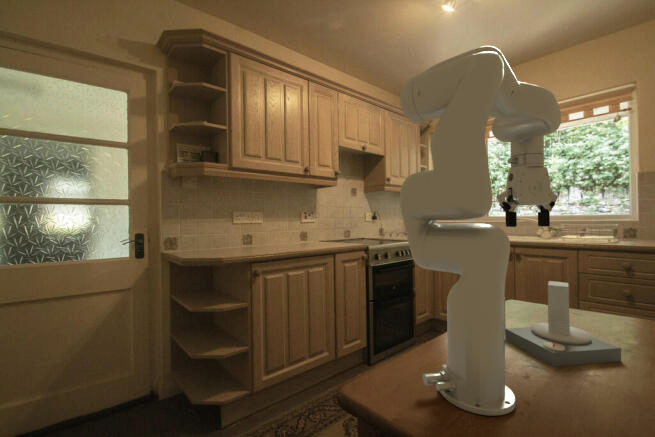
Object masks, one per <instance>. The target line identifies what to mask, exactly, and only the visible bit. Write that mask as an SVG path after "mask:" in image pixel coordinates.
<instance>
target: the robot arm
mask: <svg viewBox="0 0 655 437" xmlns="http://www.w3.org/2000/svg"><path fill="white" fill-rule="evenodd" d="M399 95H400V96H399V97H400V98H399V104H400V108H401V111H402V113H403V114H404V116H405V117H406V118H407V119H408V120H409V121H411V122H413V123H418V124H419V123H426V122H429V121H433V120H434V121H435V120H438V121H437V123H436V125H435V128H434V129H433V132H432V135H431V139H430V142H429V143H430V146H429V147H430V153H431V154H430V155H431V160H432V164H433V165H432V167H433V169H431V170H422V171H417V172H414V173H411V174H410V175H409V176H407V177H406V178H405V179H404V181H403V182H402V185H401V187H400V192H399V193H400V194H399V205H400V206H399V207H400V210H401V216H402V220H403V224H404V229H405V233H406V237H407V242H408V246H409V250H410V254H411V257H412V258H413V261H414V263H415V264H416V265H417V266H418V267H420V268H422V269H425V270H429V271H437V272H443V273H445V272H446V273H451V274H452V273H453V274H456V275H457V274H458V275H460V277H459V279H458V280H457V281H456V282H455V283H454V285H453V286H452V287H451V288H450V290H449V292H448V295H447V296H446V297H447V298H446V321H447V322H446V324H447V326H446V327H447V328H446V329H447V331H446V332H447V333H446V334H447V336H446V337H447V342H446V343H447V344H446V345H447V350H446V351H447V364H442V365H441V368H442V370H439V371H438V372H435V373H434V372H429V373H423V374H422V382H423V384H424V385H425V386H434V385H435V389H436V390H437V391H438V392H440V394H441V395H442V396H443V397H444V399H445V400H447V401H448V402H449V403H450V404H452V405H454V406H455V407H458V408H459V409H462V410H464V411H467V412H470V413H473V414H477V415H483V416H492V417H493V416H494V417H495V416H503V415H504V416H505V415H507V414H509V413H511V412H512V411H514V410H515V408H516V404H517V403H516V399H517V398H516V395H515V393H514V392H513V391H512V389H510V387H508V386H507V385H506V340H505V329H506V328H505V324H506V313H505V314H504V297H505V291H506V279H507V278H506V277H507V272H508V266H509V261H510V252H511V243H510V239H509V238H510V237H509V236H508V234H507V233H506V232H505V231H504V230H503V229H502V228H501V227H498V226H496V225H493V224H489V223H478V222H455V223H453V222H451V223H445V222H444V223H442V222H441V223H440V222H439V223H437V221H468V220H476V219H480V218H484V217H485V216H486V215H488V214H489V212H490V211H491V209H492V206H493V191H492V182H491V174H490V167H489V160H488V159H489V158H488V153H487V146H486V145H487V144H486V131H487V124H488V121H489V118H494V119H493V121H492V122H491V133H492V135H493V136H494V138H495V139H496V140H498V141H500V142H502V143H510V158H508V159H507V164H510V168H509V169H508V173H507V177H506V187H505V190H504V191H502V192H501V193H499V194H497V195H496V199H497V202H498V204H499V206H500V208H501V209H502V212H504V213H505V226H506V227H507V228H508V227H509V228H515V227H517V224H518V222H517V219H518V218H517V214H518V213H517V211H515V210H516V209H517V208H518V207H519V206H536V207H537V208H538V210H539V211H537V226H538V227H543V228H545V227H550V226H551V225H550V224H551V223H550V222H551V221H550V213H551V212H552V211H553V208H554V207H555V205H556V203H557V200H558V198H559V197H558V195H557V194H556V193H554V192H552V190H551V189H552V187H551V186H552V185H551V180H550V175H549V170H548V168H547V166H545V146H544V144H545V142H544V141H545V139H544V138H545V136H548V135H551V134H554V133H555V132H556V131H557V130H559V128H560V126H561V123H562V112H561V108H560V105H559V103H558V101H557V97H556V96H555V93H553V92H552V91H551V90H550V89H548V88H546V87H544V86H540V85H537V84H532V83H529V82H524V81H523V82H522V81H519V80H518V79H517V77H516V75H515V73H514V72H513V69H512V68H511V66H510V65H509V62H508V61H507V59H506V58H505V56H504V54H503V52H502V51H501V50H500V49H499V48H497V47H496V46H492V45H484V46H479V47H476V48H472V49H469V50H467V51H465V52H463V53H459V54H457V55H454V56H452V57H450V58H447V59H445V60H442V61H439V62H438V63H435V64H434V65H432V66H431V67H429V68H427V69H425V70H424V71H421V72H420V73H418V74H416V75H414V76H412V77H410V78H409V79H407V81H406V82H404V84H403V85H402V88H401V91H400V94H399Z"/></svg>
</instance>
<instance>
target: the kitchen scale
mask: <svg viewBox="0 0 655 437" xmlns="http://www.w3.org/2000/svg"><path fill="white" fill-rule="evenodd" d="M505 341H506V342H508V343H511V344H512V345H514V346H516V347H518V348H519V349H522V351H525V352H526V353H529V354H530V355H532V356H534V357H536V358H538V359H539V360H541V361H543V362H545V363H546V364H548V365H551V366H552V367H554V368H555V367H565V366H566V367H568V366H580V365H592V364H605V363H617V362H618V363H619V362H622V348H621V347H619V346H617V345H614V344H612V343H609V342H606V341H604V340H601V339H598V338H595V337H594V336H592V335H591V334H590V333H589V332H587V331H585V330H583V329H581V328H578V327H574V326H571V325H570V334H569V336H565V335H560V334H554V333H549V330H548V322H536V323H533V324H532V325H530V326H527V327H524V326H523V327H510V328H509V327H508V328H505Z"/></svg>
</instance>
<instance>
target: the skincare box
mask: <svg viewBox="0 0 655 437" xmlns="http://www.w3.org/2000/svg"><path fill="white" fill-rule="evenodd" d="M547 282H548V284H547V317H548V319H547V320H548V322H547V323H548V330H549V333H554V334H560V335H565V336H569V334H570V326H571V325H570V323H571V322H570V294H569V293H570V289H569V286H570V285H569V283H568V282H564V281H562V282H561V281H554V280H549V281H547Z"/></svg>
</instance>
